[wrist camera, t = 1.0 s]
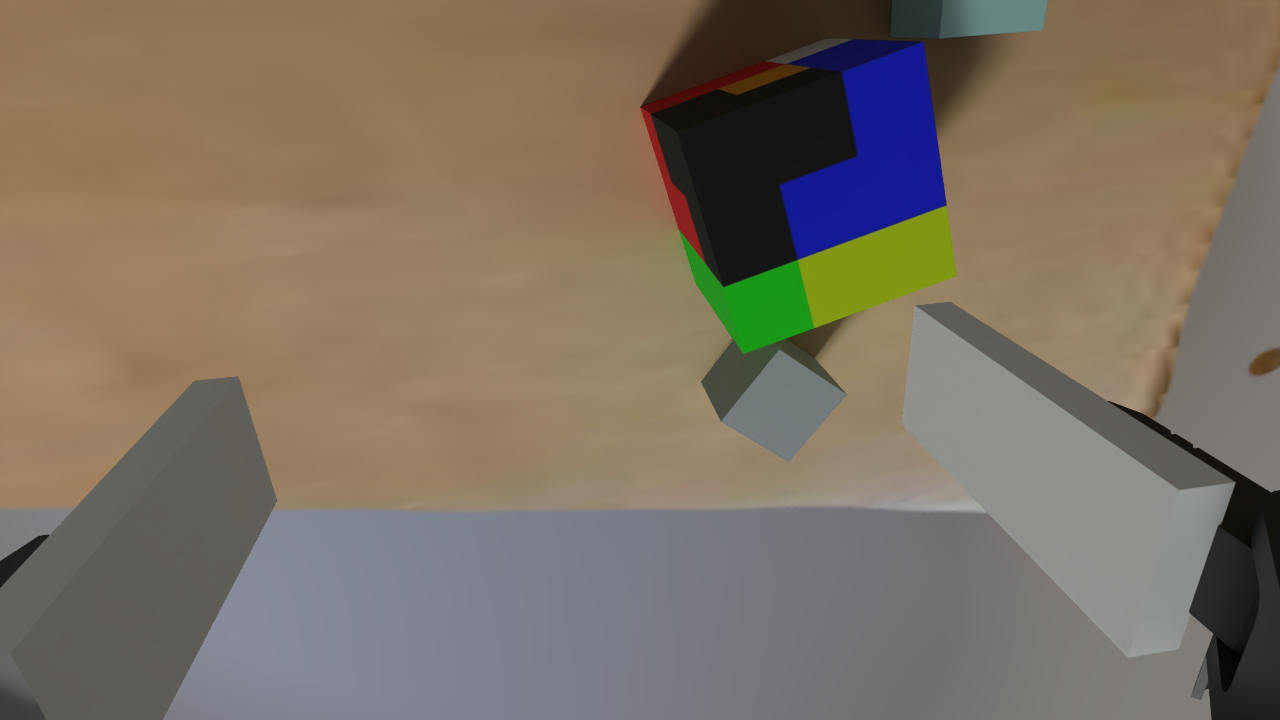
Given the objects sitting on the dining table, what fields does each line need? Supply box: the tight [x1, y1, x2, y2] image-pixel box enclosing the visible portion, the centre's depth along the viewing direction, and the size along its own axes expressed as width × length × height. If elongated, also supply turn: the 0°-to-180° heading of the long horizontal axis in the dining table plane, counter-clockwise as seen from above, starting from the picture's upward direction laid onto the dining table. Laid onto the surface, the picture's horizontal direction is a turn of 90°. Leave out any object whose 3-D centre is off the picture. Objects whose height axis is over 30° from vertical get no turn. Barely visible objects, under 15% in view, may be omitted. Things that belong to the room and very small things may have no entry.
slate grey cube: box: [701, 339, 847, 462], centre depth 42 cm, size 5×5×5 cm
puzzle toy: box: [640, 38, 956, 354], centre depth 35 cm, size 10×10×10 cm
